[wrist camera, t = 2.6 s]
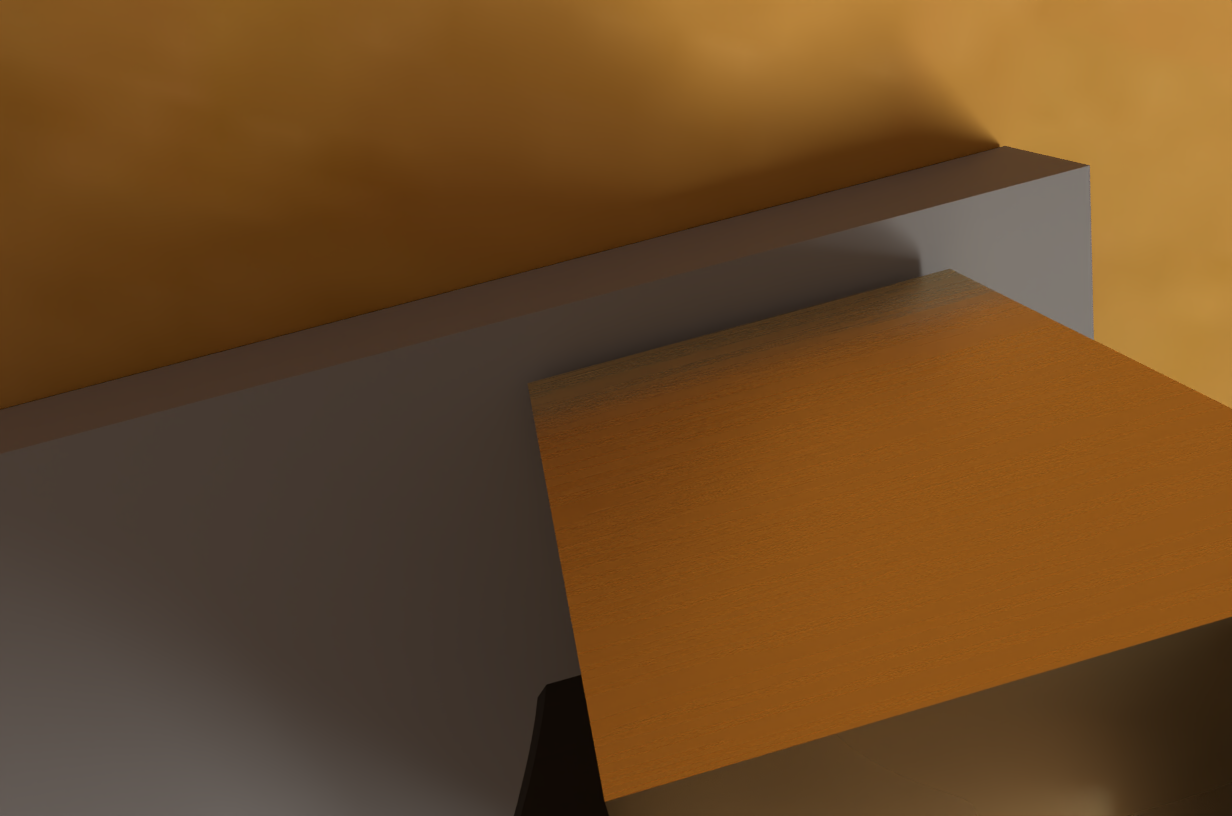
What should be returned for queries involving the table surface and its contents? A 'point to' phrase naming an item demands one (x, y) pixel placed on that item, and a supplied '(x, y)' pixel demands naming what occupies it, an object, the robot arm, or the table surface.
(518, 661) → the board
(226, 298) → the table surface
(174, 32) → the table surface
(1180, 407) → the block
